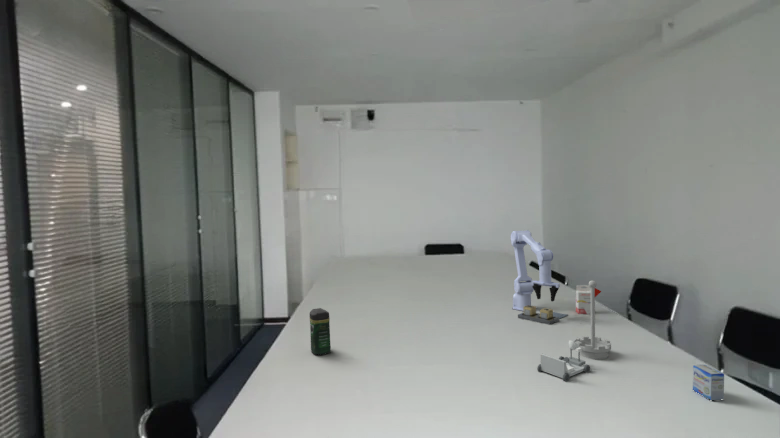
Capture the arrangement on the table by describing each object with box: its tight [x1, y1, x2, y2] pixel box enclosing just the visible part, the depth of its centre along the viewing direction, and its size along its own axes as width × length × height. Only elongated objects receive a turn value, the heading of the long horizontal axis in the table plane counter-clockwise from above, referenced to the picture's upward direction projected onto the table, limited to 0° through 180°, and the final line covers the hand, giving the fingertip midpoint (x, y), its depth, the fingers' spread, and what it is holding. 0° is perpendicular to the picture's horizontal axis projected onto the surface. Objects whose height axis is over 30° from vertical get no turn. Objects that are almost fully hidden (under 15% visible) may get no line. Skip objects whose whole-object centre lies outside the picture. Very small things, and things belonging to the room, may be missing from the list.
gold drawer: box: [523, 304, 537, 317], centre depth 240 cm, size 4×5×6 cm
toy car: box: [536, 339, 591, 382], centre depth 170 cm, size 18×10×12 cm
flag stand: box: [575, 280, 612, 360], centre depth 185 cm, size 13×13×30 cm
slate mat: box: [553, 311, 568, 320], centre depth 242 cm, size 9×9×1 cm
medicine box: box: [692, 364, 725, 401], centre depth 146 cm, size 8×4×9 cm, turn 5°
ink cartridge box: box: [575, 284, 591, 315], centre depth 245 cm, size 9×5×15 cm, turn 84°
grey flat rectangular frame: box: [517, 312, 560, 325], centre depth 237 cm, size 18×9×2 cm, turn 42°
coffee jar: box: [309, 307, 332, 355], centre depth 199 cm, size 10×8×19 cm
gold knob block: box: [539, 307, 554, 320], centre depth 233 cm, size 4×5×6 cm
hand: (545, 299), depth 236 cm, fingers open, 7 cm apart
